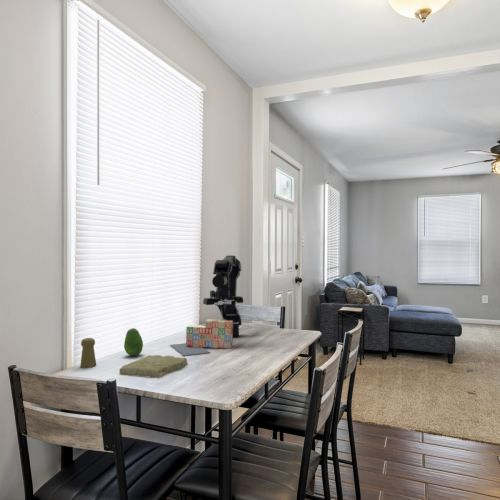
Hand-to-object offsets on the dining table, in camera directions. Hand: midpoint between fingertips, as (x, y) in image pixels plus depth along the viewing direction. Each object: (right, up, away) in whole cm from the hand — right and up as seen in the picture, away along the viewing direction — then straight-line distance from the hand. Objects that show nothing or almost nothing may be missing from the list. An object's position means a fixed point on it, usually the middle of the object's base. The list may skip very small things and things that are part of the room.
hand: (223, 318), depth 197 cm
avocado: (-38, -14, -18) cm, 44 cm away
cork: (-52, -14, -34) cm, 63 cm away
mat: (-16, -13, -8) cm, 22 cm away
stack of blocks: (-7, -13, -3) cm, 15 cm away
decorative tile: (-24, -14, -39) cm, 48 cm away
